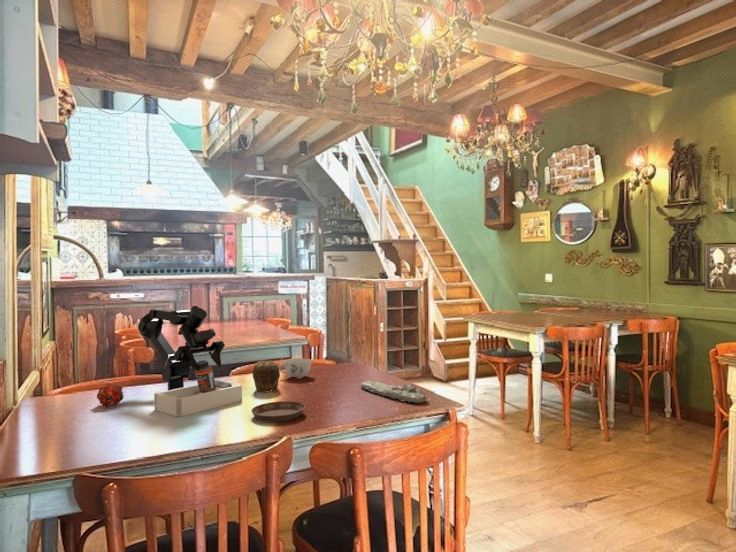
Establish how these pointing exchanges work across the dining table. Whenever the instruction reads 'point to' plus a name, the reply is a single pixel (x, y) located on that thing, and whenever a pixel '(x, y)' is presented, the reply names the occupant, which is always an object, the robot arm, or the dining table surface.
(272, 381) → the brown ridged rounded piece
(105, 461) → the dining table surface
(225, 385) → the trapdoor
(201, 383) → the supplement bottle
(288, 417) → the plant saucer
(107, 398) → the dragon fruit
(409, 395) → the long grey stone
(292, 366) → the teacup
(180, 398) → the frame
